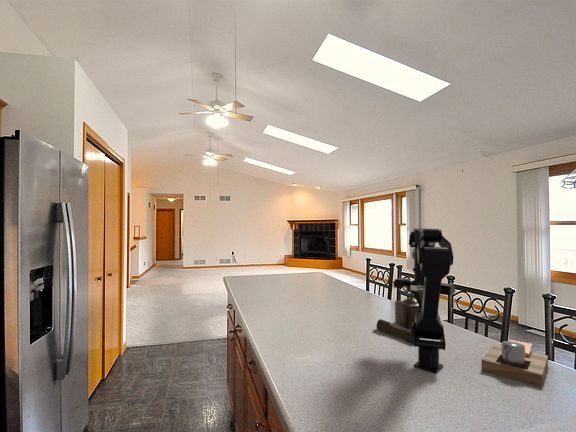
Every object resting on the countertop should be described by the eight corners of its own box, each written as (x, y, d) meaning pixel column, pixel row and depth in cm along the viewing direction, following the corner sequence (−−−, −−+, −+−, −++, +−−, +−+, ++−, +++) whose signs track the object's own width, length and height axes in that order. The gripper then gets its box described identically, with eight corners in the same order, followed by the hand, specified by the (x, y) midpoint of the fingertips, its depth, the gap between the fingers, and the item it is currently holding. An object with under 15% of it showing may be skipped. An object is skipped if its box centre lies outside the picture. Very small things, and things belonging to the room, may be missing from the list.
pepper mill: (431, 328, 134) (431, 284, 135) (407, 329, 132) (407, 285, 133) (410, 317, 150) (410, 278, 150) (388, 318, 147) (388, 278, 148)
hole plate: (542, 386, 86) (542, 375, 86) (481, 370, 95) (481, 359, 95) (548, 365, 99) (547, 355, 99) (494, 353, 108) (494, 344, 108)
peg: (523, 378, 90) (523, 349, 90) (500, 372, 94) (500, 344, 94) (526, 372, 94) (526, 344, 94) (503, 366, 98) (503, 339, 98)
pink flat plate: (529, 356, 98) (529, 353, 98) (505, 351, 102) (505, 348, 102) (532, 347, 103) (532, 344, 103) (509, 342, 107) (509, 339, 107)
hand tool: (420, 343, 117) (421, 330, 117) (413, 345, 115) (413, 332, 115) (381, 328, 133) (381, 317, 134) (374, 330, 131) (374, 318, 132)
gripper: (460, 266, 110) (460, 312, 110) (405, 261, 123) (405, 303, 122) (449, 268, 102) (449, 319, 101) (392, 263, 114) (392, 308, 114)
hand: (423, 311), depth 110 cm, fingers closed
